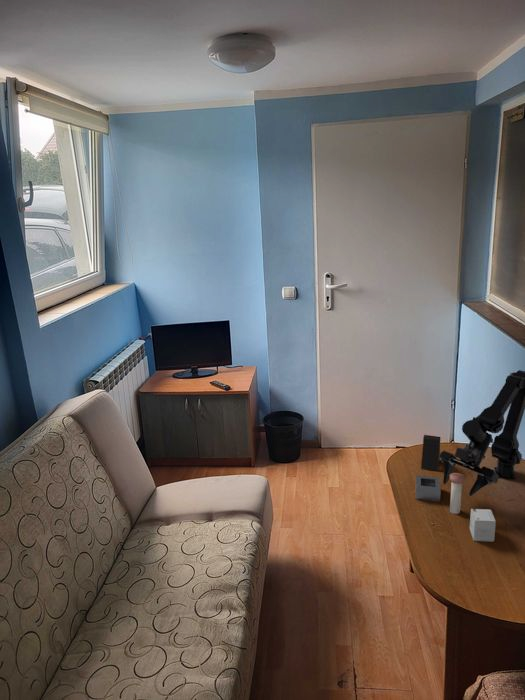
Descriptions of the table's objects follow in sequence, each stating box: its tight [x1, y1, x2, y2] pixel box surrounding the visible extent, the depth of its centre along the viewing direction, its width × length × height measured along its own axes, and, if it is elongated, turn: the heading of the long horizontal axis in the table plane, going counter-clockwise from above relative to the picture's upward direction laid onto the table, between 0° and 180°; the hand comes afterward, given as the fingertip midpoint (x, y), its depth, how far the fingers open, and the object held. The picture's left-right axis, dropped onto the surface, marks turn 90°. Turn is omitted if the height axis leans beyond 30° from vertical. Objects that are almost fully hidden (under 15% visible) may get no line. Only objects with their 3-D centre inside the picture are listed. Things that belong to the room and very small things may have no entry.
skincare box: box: [469, 508, 497, 542], centre depth 158 cm, size 6×6×7 cm
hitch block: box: [415, 475, 442, 502], centre depth 181 cm, size 8×8×4 cm
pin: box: [449, 472, 466, 515], centre depth 169 cm, size 5×5×13 cm
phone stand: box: [420, 434, 441, 472], centre depth 198 cm, size 9×6×12 cm, turn 156°
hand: (456, 489), depth 169 cm, fingers open, 9 cm apart
